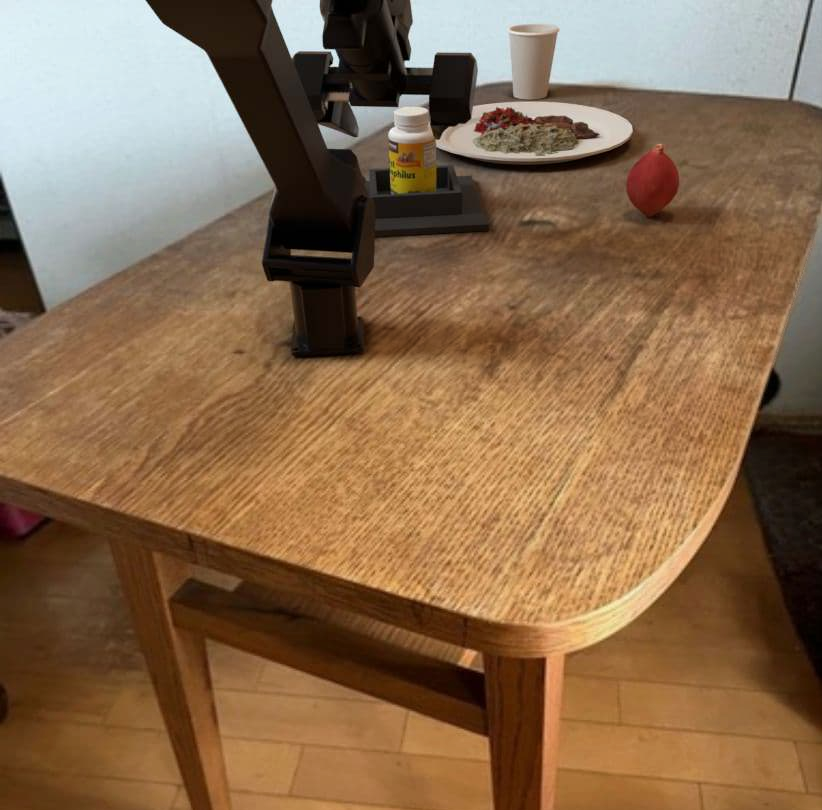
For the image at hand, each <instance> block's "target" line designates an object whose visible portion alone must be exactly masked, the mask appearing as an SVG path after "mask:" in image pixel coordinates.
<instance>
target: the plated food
mask: <svg viewBox="0 0 822 810" xmlns="http://www.w3.org/2000/svg"><path fill="white" fill-rule="evenodd" d="M429 126H430V121H429ZM632 135H633V125H632V124H631V123H630V121H629V120H628V119H626V118H625V117H623V116H621V115H619V114H618V113H614V112H611V111H609V110H605V109H602V108H598V107H594V106H588V105H582V104H575V103H566V102H556V101H554V102H553V101H506V102H505V101H504V102H495V103H486V104H479V105H473V110H472V118H471V119H470V120H469V121H468V122H467V123H466V124H458V125H457V126H455V127H448V128H447V129H446V130H445V131H444V132H443V133H442V136H441V138H440V140H436V148H438V149H440V150H443V151H446V152H449V153H452V154H456V155H459V156H463V157H466V158H468V159H471V160H476V161H481V162H487V163H492V164H501V165H516V166H517V165H518V166H519V165H520V166H521V165H522V166H526V165H527V166H532V165H550V164H559V163H566V162H572V161H576V160H581V159H584V158H589V157H590V156H594V155H598V154H601V153H605V152H608V151H611V150H613V149H615V148H618V147H620V146H622V145H623V144H625V143H626V142H628V141H629V140H630V139H631V137H632Z"/></svg>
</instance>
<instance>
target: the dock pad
mask: <svg viewBox="0 0 822 810" xmlns="http://www.w3.org/2000/svg"><path fill="white" fill-rule="evenodd" d="M368 178H369V179H368V180H366V182H365V184H364V185H365V187H366V189H367V191H368V195H369V197H372V198H373V200H374V204H375V238H382V237H398V236H399V237H401V236H416V235H417V236H418V235H419V236H421V235H435V234H439V235H440V234H455V233H456V234H457V233H474V232H475V233H477V232H489V229H490V223H489V221H488V218H487V215H486V212H485V210H484V207H483V204H482V202H481V199H480V196H479V193H478V191H477V188H476V184H475V182H474V179H473V177H472V175H471V174H470V175H457V173H456V169H455V166H454V164H443V165H436V192H420V193H401V194H391V186H390V167H388V168H386V167H385V168H368Z"/></svg>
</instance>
